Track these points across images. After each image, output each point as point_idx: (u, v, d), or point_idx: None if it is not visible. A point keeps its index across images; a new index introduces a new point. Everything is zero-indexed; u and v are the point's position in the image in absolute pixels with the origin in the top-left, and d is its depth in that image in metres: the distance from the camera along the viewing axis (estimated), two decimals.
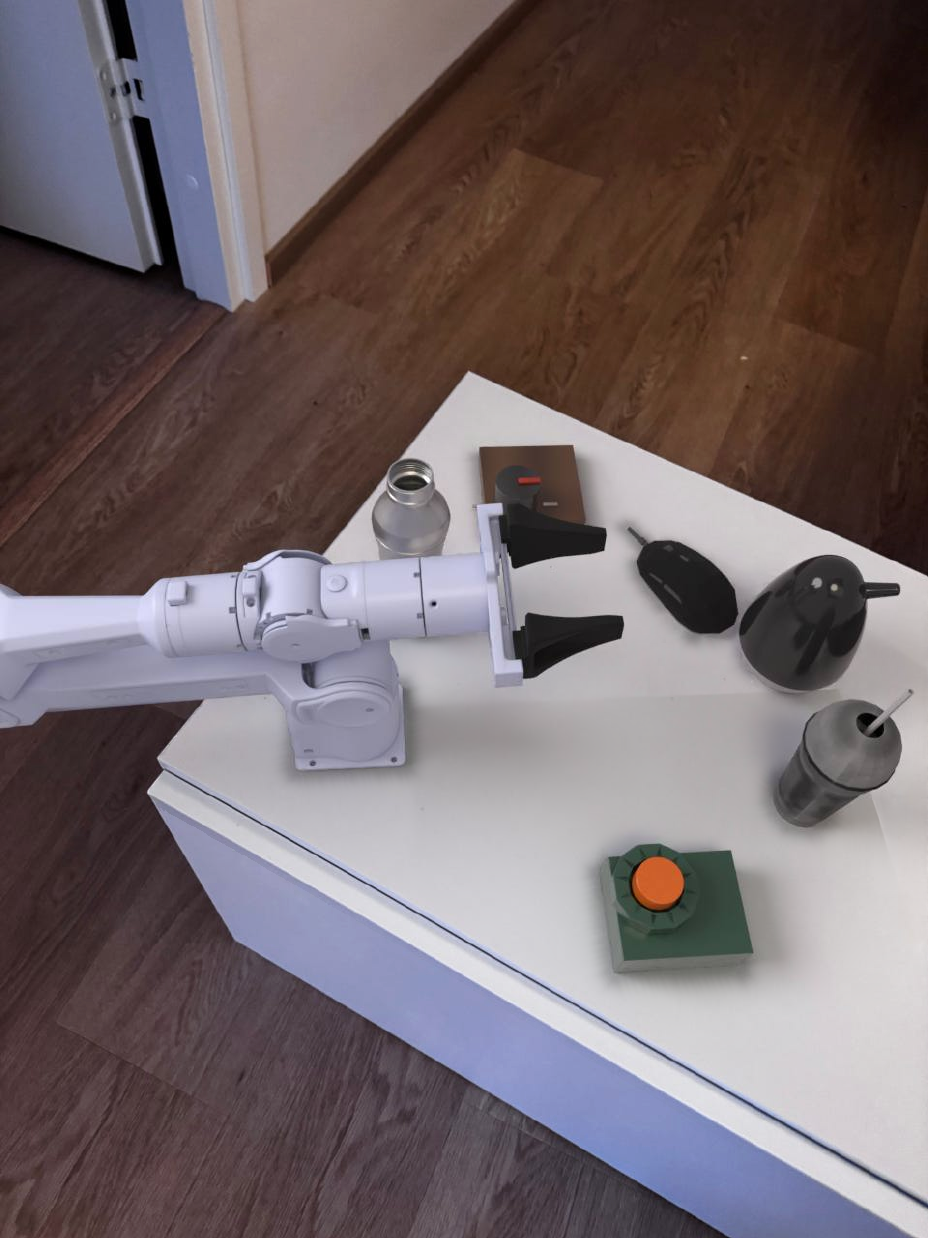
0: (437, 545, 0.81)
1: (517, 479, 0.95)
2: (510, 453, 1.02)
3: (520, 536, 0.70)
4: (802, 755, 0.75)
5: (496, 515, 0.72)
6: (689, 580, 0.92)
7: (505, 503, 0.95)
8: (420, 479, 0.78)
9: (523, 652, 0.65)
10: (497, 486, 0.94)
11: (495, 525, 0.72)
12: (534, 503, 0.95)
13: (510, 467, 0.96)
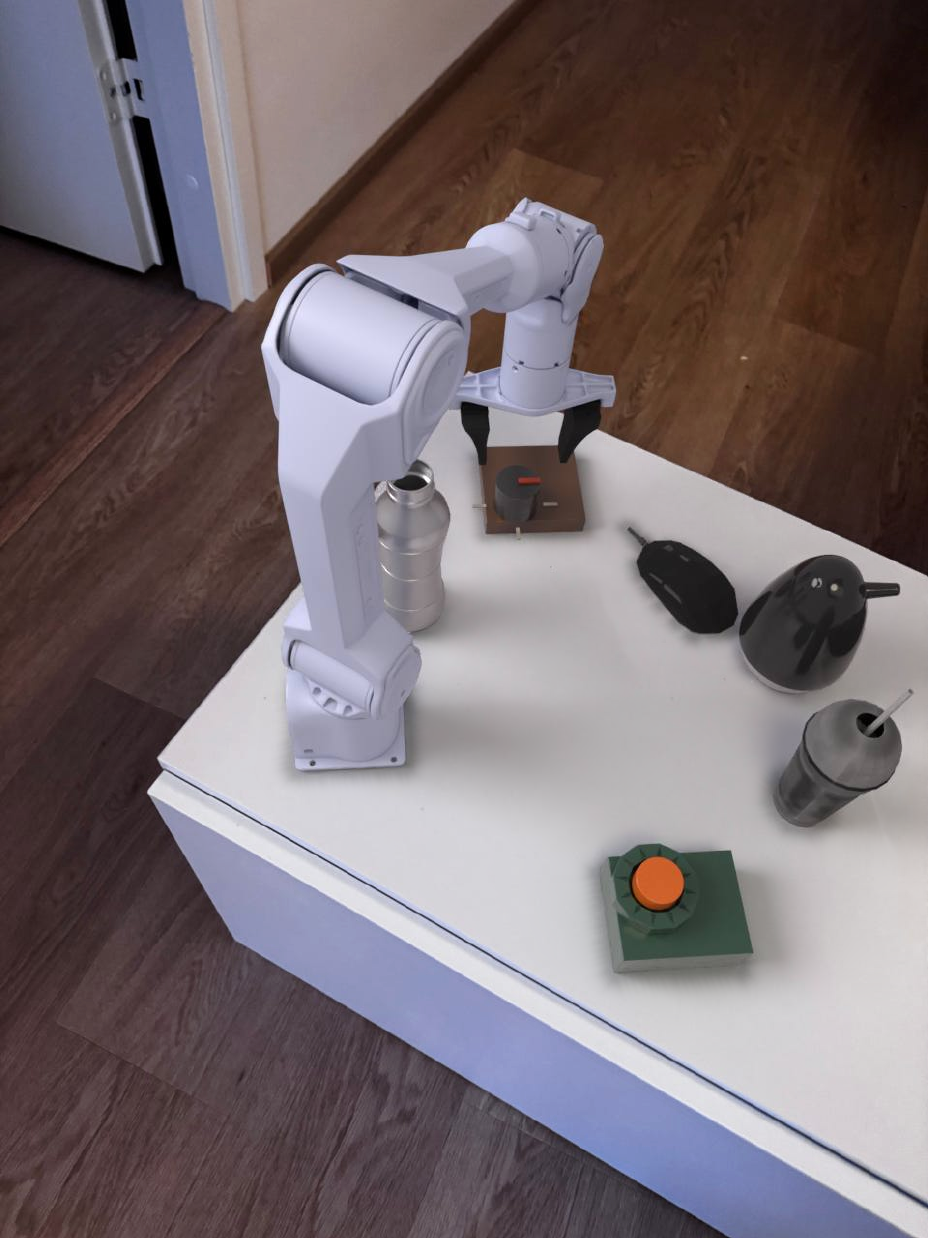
0: (437, 545, 0.81)
1: (517, 479, 0.95)
2: (510, 453, 1.02)
3: None
4: (802, 755, 0.75)
5: None
6: (689, 580, 0.92)
7: (505, 503, 0.95)
8: (420, 479, 0.78)
9: None
10: (497, 486, 0.94)
11: None
12: (534, 503, 0.95)
13: (510, 467, 0.96)
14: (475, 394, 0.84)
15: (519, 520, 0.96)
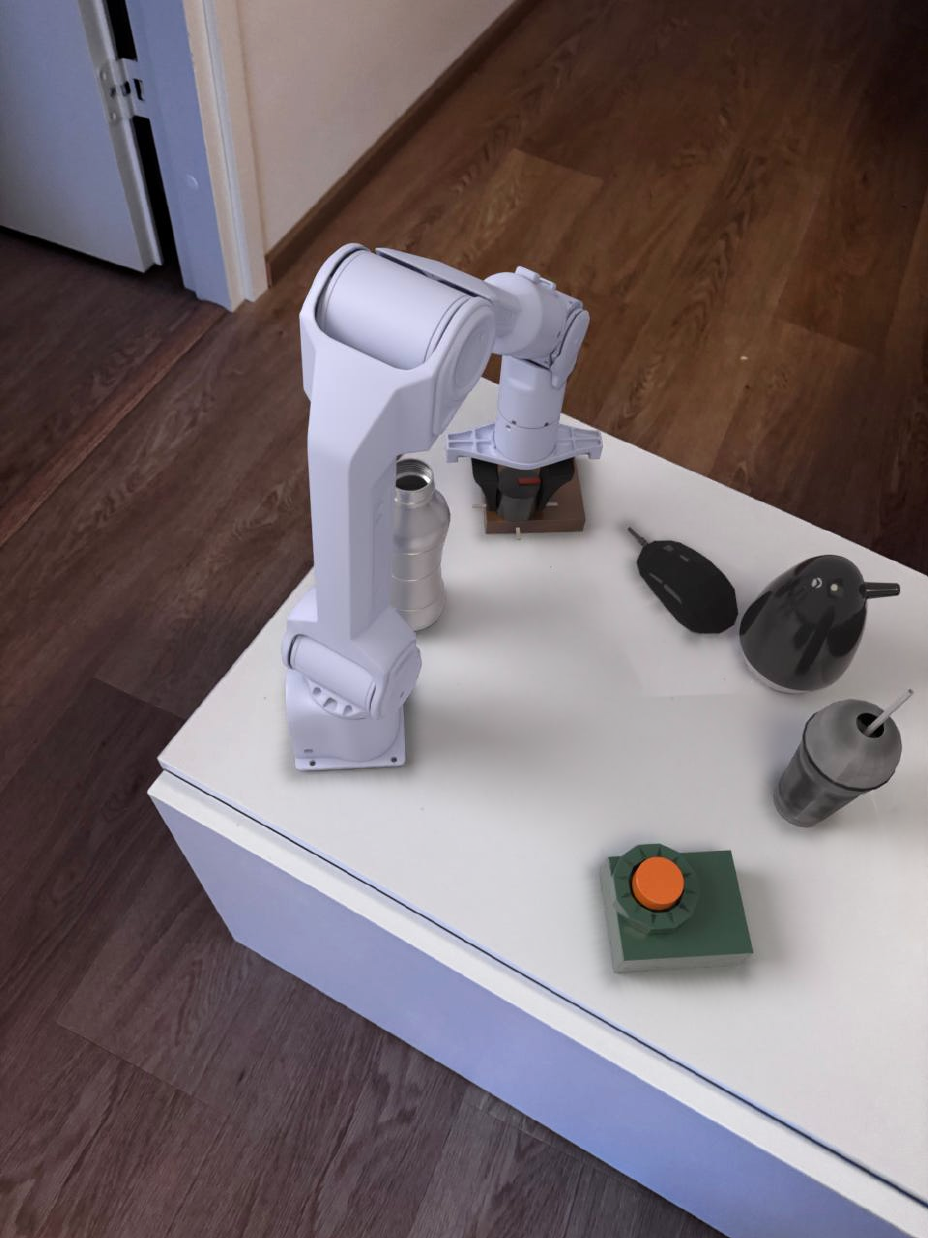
0: (437, 545, 0.81)
1: (517, 479, 0.95)
2: None
3: None
4: (802, 755, 0.75)
5: None
6: (689, 580, 0.92)
7: (505, 503, 0.95)
8: (420, 479, 0.78)
9: None
10: (497, 486, 0.94)
11: None
12: (534, 503, 0.95)
13: (510, 467, 0.96)
14: (471, 448, 0.89)
15: (519, 520, 0.96)
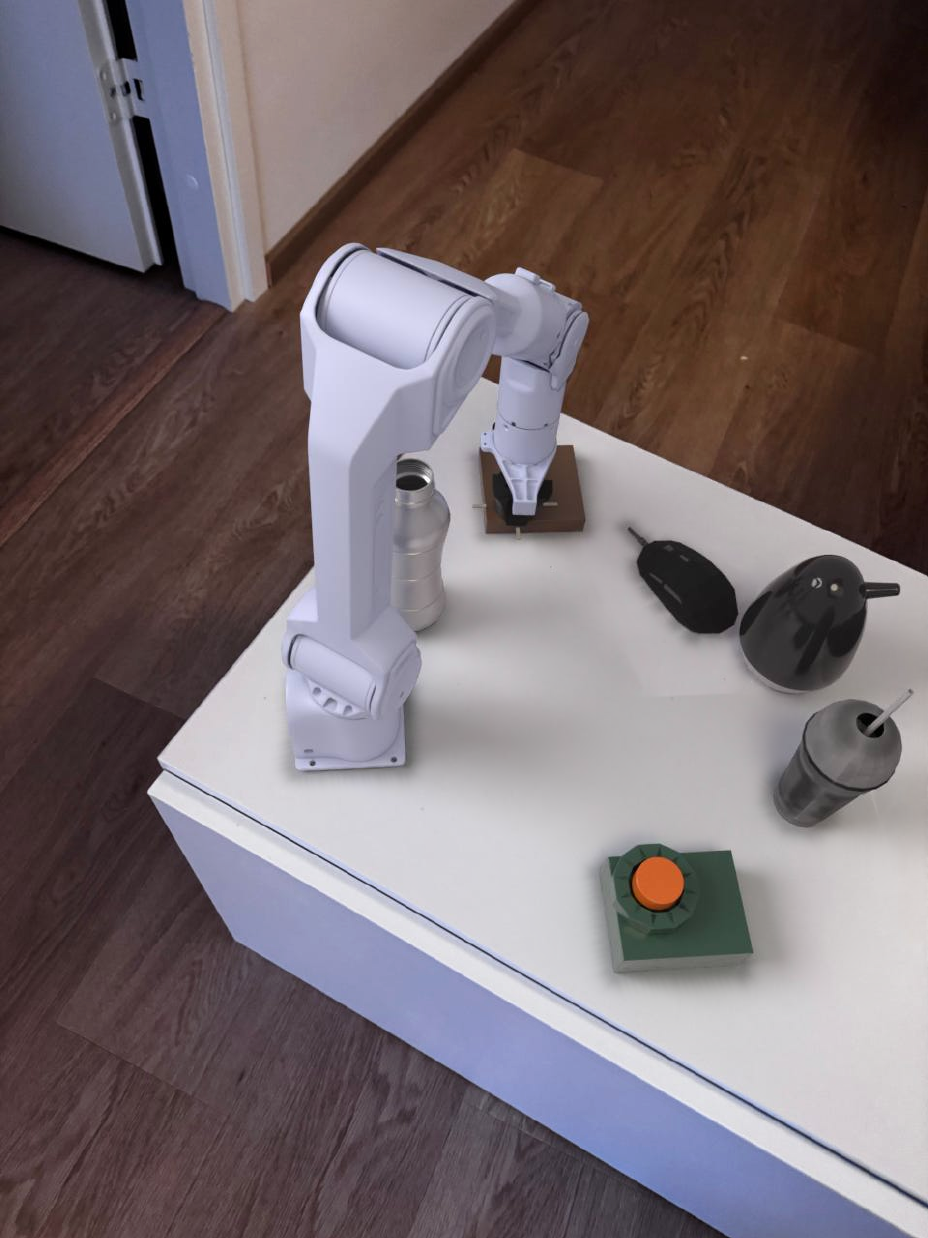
0: (437, 545, 0.81)
1: None
2: None
3: None
4: (802, 755, 0.75)
5: None
6: (689, 580, 0.92)
7: None
8: (420, 479, 0.78)
9: None
10: None
11: None
12: None
13: None
14: (531, 485, 0.88)
15: None
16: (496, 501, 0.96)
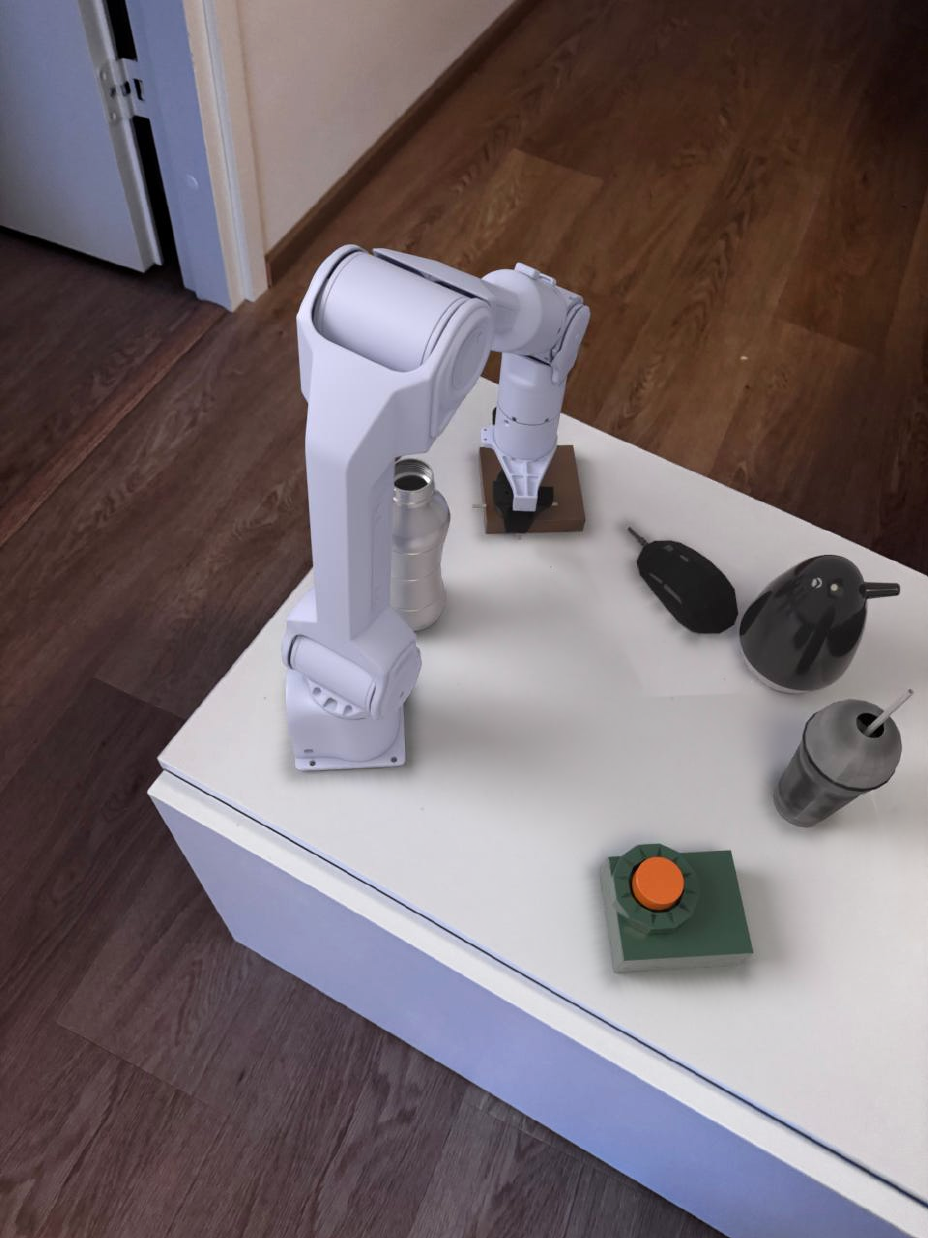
0: (437, 545, 0.81)
1: None
2: None
3: None
4: (802, 755, 0.75)
5: None
6: (689, 580, 0.92)
7: None
8: (420, 479, 0.78)
9: None
10: None
11: None
12: None
13: None
14: (531, 481, 0.87)
15: None
16: None
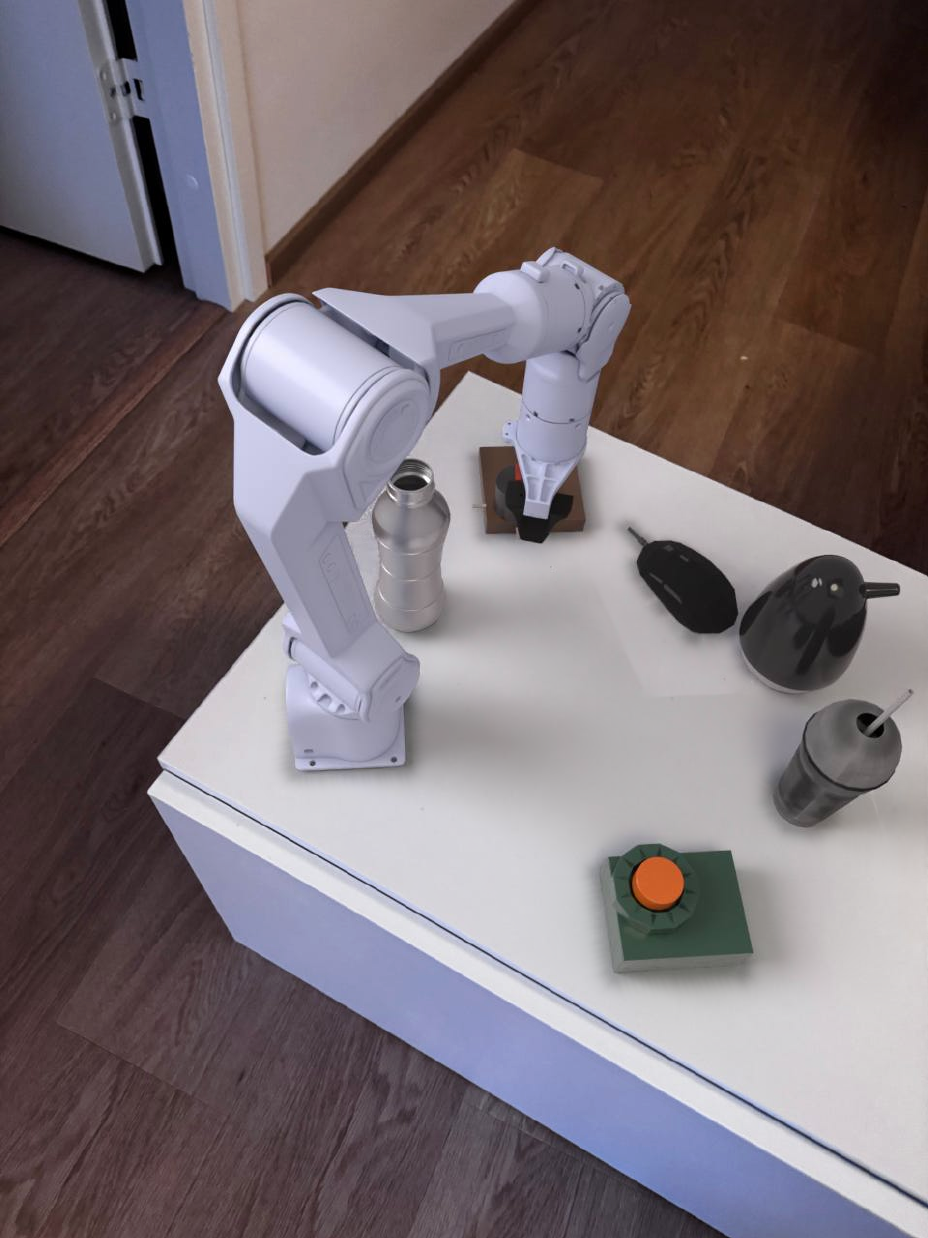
0: (437, 545, 0.81)
1: None
2: (510, 453, 1.02)
3: None
4: (802, 755, 0.75)
5: None
6: (689, 580, 0.92)
7: None
8: (420, 479, 0.78)
9: None
10: None
11: None
12: None
13: (499, 485, 0.94)
14: (548, 485, 0.78)
15: None
16: (496, 501, 0.96)
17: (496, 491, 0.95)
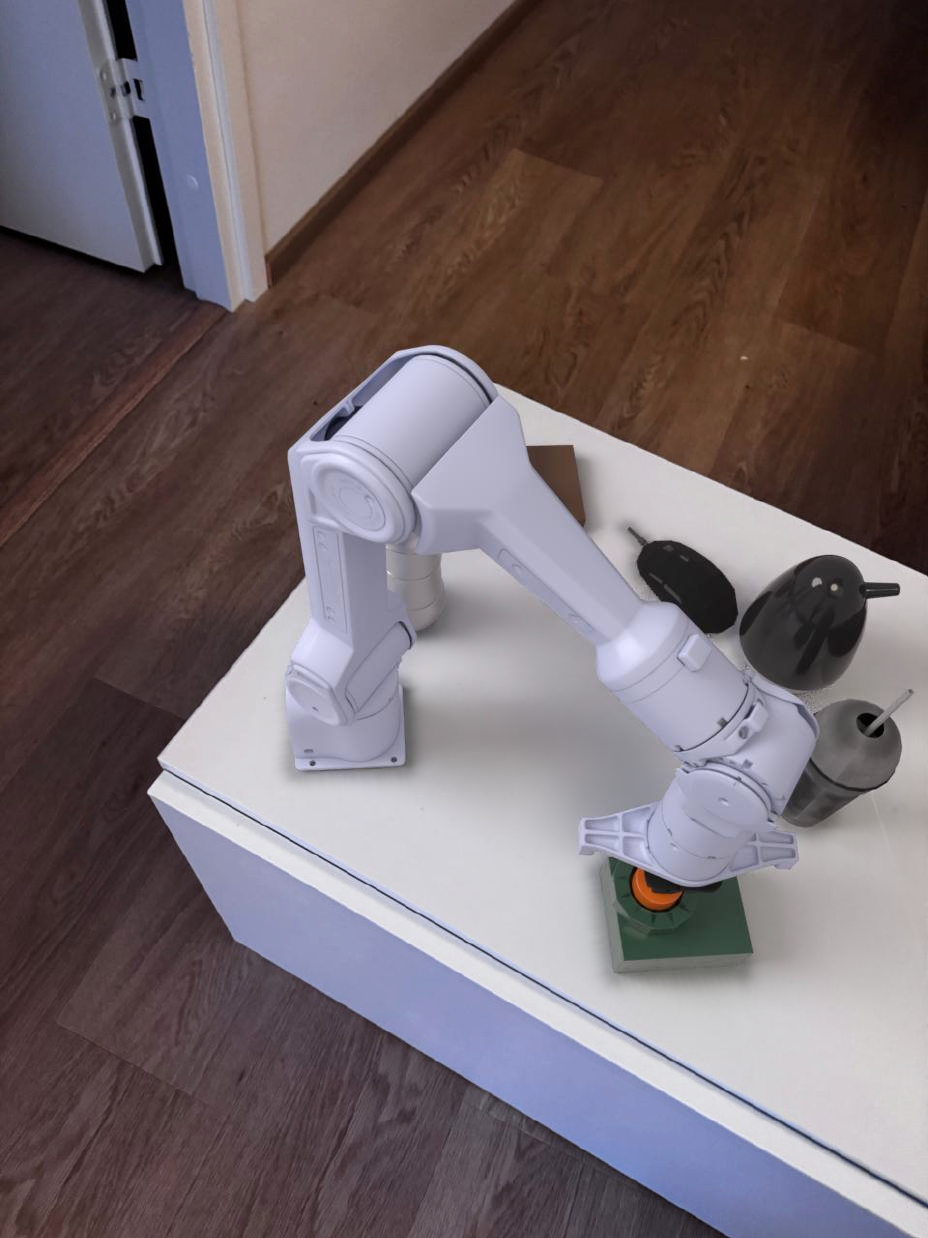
0: None
1: None
2: None
3: None
4: None
5: None
6: (689, 580, 0.92)
7: None
8: None
9: None
10: None
11: None
12: None
13: None
14: (615, 844, 0.65)
15: None
16: None
17: None
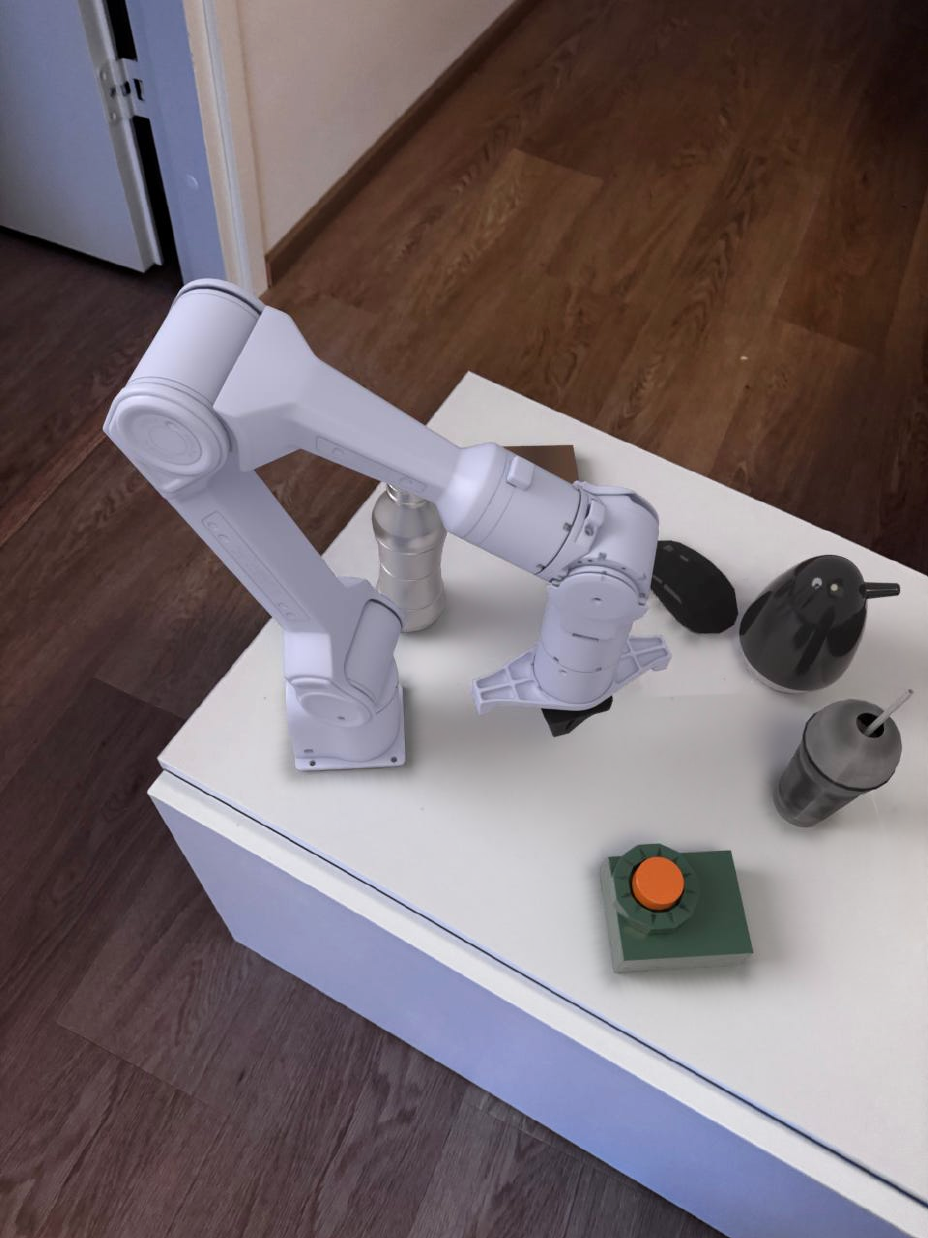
0: (437, 545, 0.81)
1: None
2: None
3: None
4: (802, 755, 0.75)
5: None
6: (689, 581, 0.92)
7: None
8: None
9: None
10: None
11: None
12: None
13: None
14: (509, 694, 0.68)
15: None
16: None
17: None
